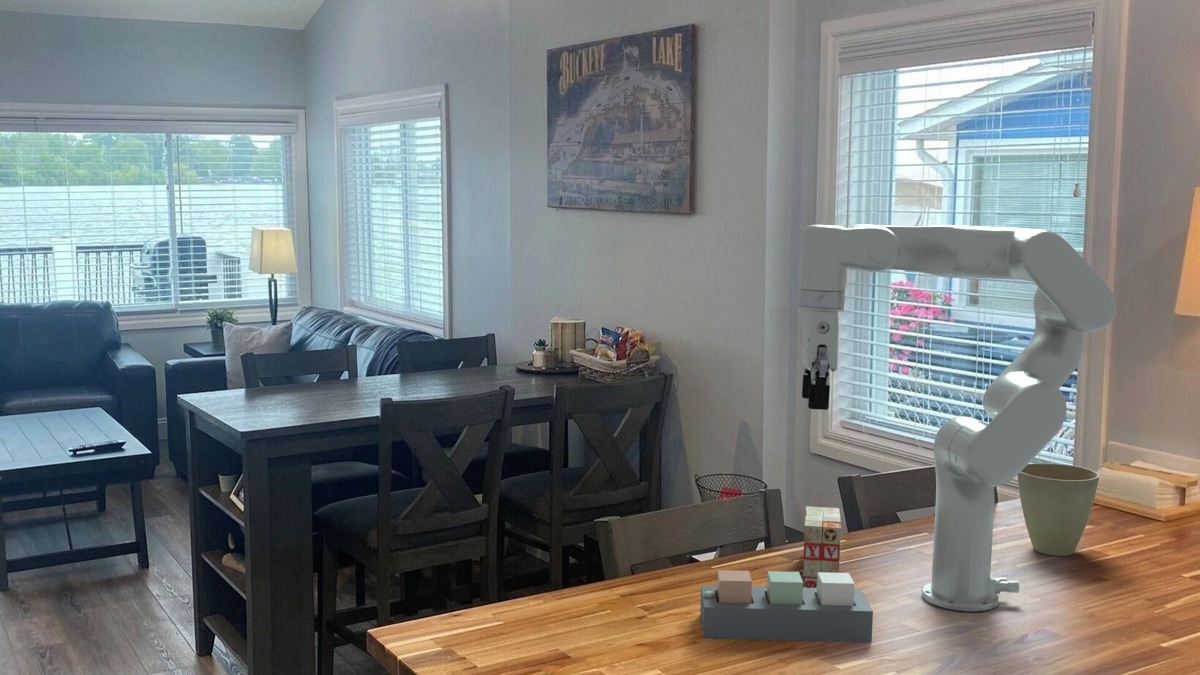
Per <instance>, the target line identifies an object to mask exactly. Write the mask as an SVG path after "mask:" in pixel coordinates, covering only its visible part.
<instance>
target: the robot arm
mask: <svg viewBox="0 0 1200 675" xmlns="http://www.w3.org/2000/svg"><path fill="white" fill-rule="evenodd" d="M848 269H850V270H857V271H862V272H867V273H881V272H885V271H887V270H892V271H894V270H895V271H908V272H916V273H923V274H925V275H926V274H927V275H931V276H938V277H945V278H946V277H947V278H948V277H949V278H963V279H965V278H968V279H971V278H973V279H993V280H995V279H1000V280H1018V281H1019V280H1023V281H1029V282H1033V283H1034V285H1035V286H1036V287H1037V289H1036V290H1035V293H1034V296H1033V303H1032V304H1033V311H1034V319H1035V324H1034V325H1035V328H1034V332H1033V335H1032V337H1031V338H1030V341H1029V343H1027V345H1025V346H1026V347H1024V348H1023V350H1022V351H1021V352H1020V353H1019V355H1018V356H1016V357H1015V359H1014V360H1013V361H1011V363H1010V364H1009V365H1008V366H1007V367H1006V368H1005V369H1004V370H1003V371H1002V372H1001V373H1000V374H999V375H998V376H997V377H996V378H995V379H994V380H993V381H992V382H991V384H989V386H988V387H987V389H986V390H985V392H984V394H983V397H982V406H983V410H984V412H985V413H986V415H987V416H988V417H989V419H991V420H990V421H989V423H987V422H984V421H982V420H980V419H977V418H975V417H971V416H957V417H953V418H950V419H949V420H947V421H945V422H944V423H943V424H942V425H940V426H941V427H939V429H938V431H937V433H936V435H935V438H934V442H933V459H934V467H935V468H934V469H935V482H936V483H935V484H936V485H935V486H936V487H935V488H936V490H935V507H934V508H935V509H934V529H933V531H934V532H933V546H932V547H933V548H932V567H931V568H932V569H931V570H932V571H931V582H929V583H926V584H924V585H923V587H922V588H921V597H922V598H923V599H924V600H925V601H926V602H928V603H929V604H931V605H934V606H937V607H939V608H943V609H946V610H953V611H959V612H960V611H961V612H985V611H989V610H992V609H994V608H996V607H997V606H998V605H999V599H1000V598H999V595H1000V593H1001V592H1003V593H1005V592H1006V593H1016V594H1017V593H1019V591H1020V584H1019V582H1018V580H1007V577H994V575H992V573H991V570H992V555H993V554H992V551H993V533H994V532H993V530H994V515H995V503H996V502H995V488H997V487H1000V486H1003V485H1005V484H1007V483H1009V482H1011V481H1012V480H1013V479H1014V478H1016V477H1018V474H1019V473H1020V472H1021V471H1022V470H1023V469H1024V468H1025V467H1026V466H1027V465H1028V464H1030V463H1031V462H1032V460H1034V459H1035V458H1036V457H1037V456H1038V454H1039V453H1040V452H1041V451H1042V450H1043V449H1044V448H1045V447H1046V446H1047V445H1048V444H1049V443H1051V441H1052V440H1053V439H1054V438H1055V436H1056V435H1058V433H1059V431H1060V429H1062V426H1063V425H1064V422H1065V420H1066V416H1067V411H1068V410H1067V409H1068V408H1067V402H1066V398H1065V396H1064V394H1063V393H1062V391H1061V390H1060V389H1061V388H1062V386H1063V385H1064V383H1066V382H1067V380H1068V379H1069V378H1070V377H1071V376H1072V375H1073V373H1074V372H1075V370H1076V369H1077V367H1078V366H1079V363H1080V361H1081V358H1082V355H1083V346H1084V333H1095V332H1098V331H1101V330H1103V329H1105V328H1106V327H1107V326H1108V325H1109V324H1110V323H1111V322H1112V321H1113V318H1114V317H1115V314H1116V311H1117V308H1116V307H1117V304H1116V298H1115V295H1114V293H1113V291H1112V289H1111V288H1110V286H1109V285H1108V284H1107V283H1106V281H1104V280H1103V278H1101V276H1100V275H1099V274H1098V273H1097V272H1096V271H1095V270H1094V268H1092V267H1091V265H1089V263H1088V262H1087V261H1086V260H1085V259H1084V258H1083V257H1082V255H1081V254H1080V253H1079V252H1078V251H1077V250H1076V249H1075V248H1074V247H1073V246H1072V245H1071V244H1070V243H1069V242H1068V240H1066V239H1065V238H1063V237H1062V236H1061V235H1059V234H1058V233H1056V232H1054V231H1051V230H1047V229H1035V228H1034V229H1033V228H1022V227H1021V228H1019V227H999V226H997V227H994V226H973V225H972V226H970V225H968V226H967V225H929V226H903V225H902V226H901V225H899V226H898V225H881V224H880V225H878V224H876V225H875V224H852V225H851V226H848V227H846V228H845V227H844V226H840V225H833V224H832V225H830V224H827V225H826V224H810V225H806V226H805V227H804V228H803V229H802V233H801V243H800V259H799V274H798V277H799V278H798V291H797V307H796V308H797V309H798V310H801V311H802V310H803V321H802V322H803V323H802V340H801V342H802V346H801V348H802V349H801V356H802V357H801V360H802V361H801V362H802V365H804V368H803V374H802V387H801V390H802V391H801V397H802V398H803V399H808V402H807V404H808V405H807V407H808V409H809V410H821V411H823V410H824V411H827V410H829V408H830V407H829V406H830V390H831V389H830V388H831V385H830V371H831V373H835V372H836V371H838V360H839V357H838V356H839V355H838V354H839V312H844V311H845V301H846V300H845V298H846V283H847V272H848V271H847V270H848Z"/></svg>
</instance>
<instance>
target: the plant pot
mask: <svg viewBox="0 0 1200 675" xmlns="http://www.w3.org/2000/svg"><path fill="white" fill-rule="evenodd" d="M1100 475H1101V474H1099V472H1097V471H1094V470H1093V469H1091V468H1087V467H1082V466H1077V465H1072V464H1064V463H1053V462H1052V463H1051V462H1035V463H1034V462H1033V463H1031V462H1030V463H1029V464H1028V465H1027V466H1026V467H1025V468H1024V469H1023V470H1022V471H1021V472H1020V473H1019V474H1018V475H1017V483H1018V490H1019V499H1020V504H1021V508H1022V514H1023V517H1024V522H1025V525H1026V529H1027V532H1028V536H1029V539H1030V543H1031V546H1032V548H1033V550H1035V551H1036V552H1037V553H1040V554H1043V555H1047V556H1054V557H1055V556H1056V557H1066V556H1072V555H1073V554H1074V553H1075V552H1076V550H1077V547H1078V546H1079V543H1080V541H1081V539H1082V536H1083V534H1084V531H1085V528H1086V526H1087V523H1088V521H1089V519H1090V515H1091V513H1092V508H1093V506H1094V502H1095V497H1096V493H1097V489H1098V485H1099V480H1100Z"/></svg>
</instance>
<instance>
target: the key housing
mask: <svg viewBox="0 0 1200 675" xmlns="http://www.w3.org/2000/svg"><path fill="white" fill-rule="evenodd" d="M699 608H700V622H701V630H702V636H703V639H715V640H716V639H719V640H722V639H723V640H757V641H758V640H762V641H763V640H766V641H799V642H800V641H802V642H808V641H809V642H842V643H843V642H844V643H846V642H848V643H849V642H850V643H851V642H852V643H872V642H873V640H872V639H873V624H874V623H873V617H874V611H873V609H872V606H871V605H870V604H869V601H868V599H867V598H866V596H865V595H864V593H863V591H862V589H861V588H854V606H831V605H819V603H818V601H817V588H803V602H802V605H787V604H768V602H767V586H752V597H751V604H743V603H718V602H717V585H700V607H699Z"/></svg>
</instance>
